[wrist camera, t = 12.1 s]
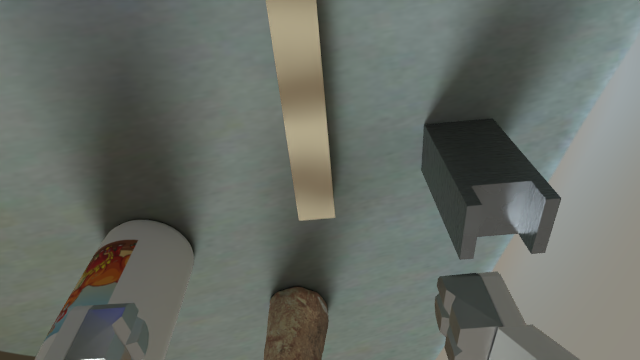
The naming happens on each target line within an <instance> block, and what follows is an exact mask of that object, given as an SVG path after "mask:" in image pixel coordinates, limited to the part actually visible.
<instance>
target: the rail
mask: <svg viewBox="0 0 640 360" xmlns="http://www.w3.org/2000/svg"><path fill="white" fill-rule="evenodd" d="M266 5H267V11H268V18H269V25H270V31H271V38H272V45H273V51H274V58H275V64H276V71H277V78H278V84H279V91H280V98H281V104H282V111H283V118H284V124H285V131H286V138H287V144H288V151H289V157H290V164H291V171H292V177H293V184H294V191H295V197H296V204H297V211H298V217H299V221H303V220H315V219H326V218H335V211H334V199H333V188H332V176H331V165H330V153H329V142H328V130H327V119H326V107H325V96H324V84H323V73H322V61H321V50H320V38H319V27H318V15H317V4H316V0H266Z"/></svg>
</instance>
